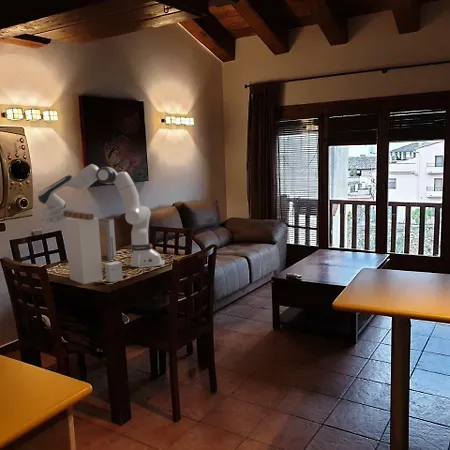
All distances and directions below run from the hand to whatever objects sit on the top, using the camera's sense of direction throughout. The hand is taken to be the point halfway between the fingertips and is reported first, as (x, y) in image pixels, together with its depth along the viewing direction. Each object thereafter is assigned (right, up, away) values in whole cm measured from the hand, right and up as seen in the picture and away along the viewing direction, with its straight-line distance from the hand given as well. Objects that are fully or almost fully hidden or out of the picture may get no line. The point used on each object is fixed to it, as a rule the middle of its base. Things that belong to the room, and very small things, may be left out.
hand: (64, 217), depth 292 cm
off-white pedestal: (+17, -37, -12) cm, 43 cm away
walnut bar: (+13, -1, -15) cm, 19 cm away
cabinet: (+16, -29, +49) cm, 59 cm away
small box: (+35, -38, -16) cm, 54 cm away
